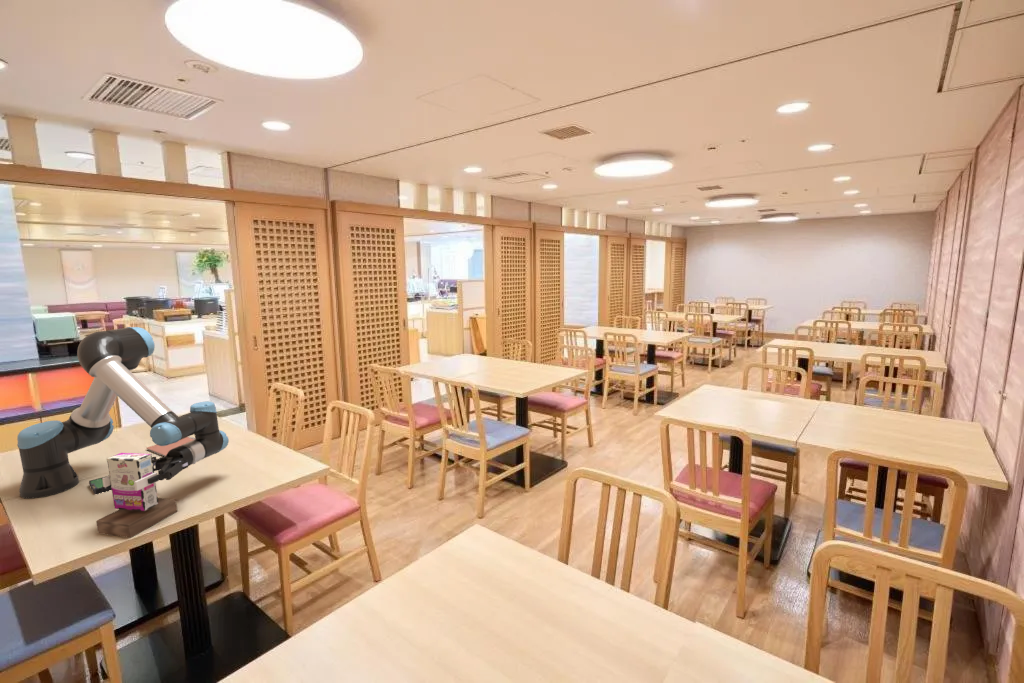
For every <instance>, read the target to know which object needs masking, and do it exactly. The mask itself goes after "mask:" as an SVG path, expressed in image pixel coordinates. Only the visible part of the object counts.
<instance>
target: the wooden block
mask: <svg viewBox="0 0 1024 683" xmlns="http://www.w3.org/2000/svg"><path fill="white" fill-rule="evenodd" d="M177 512H178V507H177V500H176V499H171V498H163V497H162V498H161V497H158V504H157V505H156V506H154V507H152V508H150V509H148V510H146V511H138V510H124V509H116V510H115V511H113V512H111V513H110V514H109V513H108V514H107V515H105V516H103V517H101V518H99V519H97V520H95V522H96V526H97V528H96V529H97V533H98V534H100V535H101V534H102V535H107V534H108V535H109V536H115V537H122V538H123V537H124V538H133V537H134V536H135V537H136V535H139V534H140V533H142V532H144V531H146V530H147V529H149V528H152V526H154V525H156V524H158V523H160V522H162V521H163V520H165V519H167V518H169V517H170V516H173V514H176V513H177Z"/></svg>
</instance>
